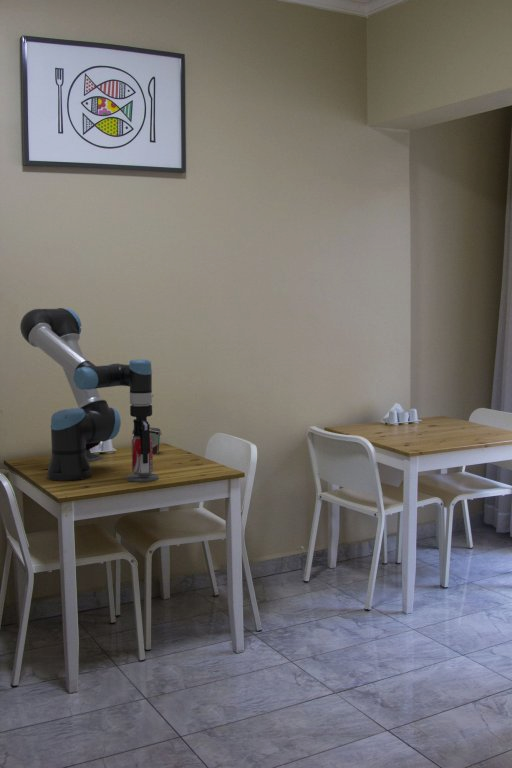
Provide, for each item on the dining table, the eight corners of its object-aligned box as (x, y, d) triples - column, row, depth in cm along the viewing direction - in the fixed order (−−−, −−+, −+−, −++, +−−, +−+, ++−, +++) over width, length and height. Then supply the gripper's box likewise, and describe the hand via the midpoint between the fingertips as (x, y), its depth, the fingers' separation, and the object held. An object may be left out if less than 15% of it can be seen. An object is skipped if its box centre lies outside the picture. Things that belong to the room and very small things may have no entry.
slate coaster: (130, 483, 289) (130, 481, 289) (123, 476, 299) (123, 474, 299) (162, 480, 293) (161, 478, 293) (154, 474, 303) (154, 472, 303)
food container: (166, 452, 345) (166, 427, 344) (160, 455, 339) (160, 430, 338) (139, 450, 349) (138, 426, 348) (132, 453, 343) (132, 428, 342)
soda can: (154, 471, 299) (154, 434, 297) (150, 475, 292) (149, 438, 290) (134, 470, 300) (134, 434, 298) (129, 475, 292) (129, 437, 291)
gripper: (159, 407, 285) (160, 475, 288) (145, 400, 304) (146, 464, 306) (136, 408, 282) (138, 476, 285) (124, 401, 301) (125, 465, 303)
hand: (142, 470), depth 295 cm, fingers closed on soda can, 7 cm apart
